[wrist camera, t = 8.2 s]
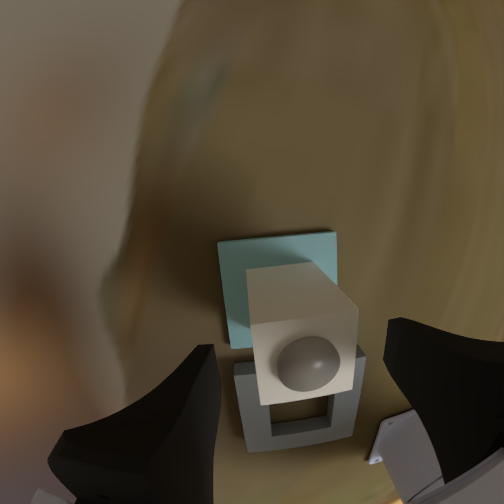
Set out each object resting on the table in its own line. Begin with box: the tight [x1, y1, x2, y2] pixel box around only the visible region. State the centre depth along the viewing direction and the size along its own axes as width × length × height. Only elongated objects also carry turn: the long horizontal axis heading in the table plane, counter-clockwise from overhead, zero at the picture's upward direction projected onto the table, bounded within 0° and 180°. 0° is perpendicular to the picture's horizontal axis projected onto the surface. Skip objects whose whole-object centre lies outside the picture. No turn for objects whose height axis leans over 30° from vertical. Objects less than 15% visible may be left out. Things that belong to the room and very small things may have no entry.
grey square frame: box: [234, 346, 366, 453], centre depth 19 cm, size 9×9×2 cm
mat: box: [217, 231, 337, 349], centre depth 17 cm, size 7×7×1 cm
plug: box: [246, 262, 359, 405], centre depth 13 cm, size 4×4×7 cm
